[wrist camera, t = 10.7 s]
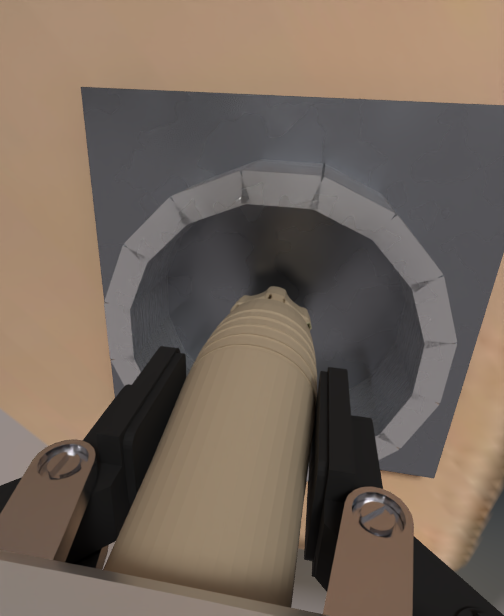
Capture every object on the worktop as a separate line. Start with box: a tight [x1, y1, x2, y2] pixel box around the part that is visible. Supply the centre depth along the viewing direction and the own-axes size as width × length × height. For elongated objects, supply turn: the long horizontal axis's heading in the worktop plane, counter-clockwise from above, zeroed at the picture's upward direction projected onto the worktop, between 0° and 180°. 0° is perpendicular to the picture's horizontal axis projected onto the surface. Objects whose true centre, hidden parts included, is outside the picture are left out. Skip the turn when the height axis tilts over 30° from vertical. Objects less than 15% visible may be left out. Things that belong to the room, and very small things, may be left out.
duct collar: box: [81, 87, 504, 481], centre depth 17 cm, size 17×17×5 cm
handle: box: [103, 286, 317, 608], centre depth 11 cm, size 5×6×15 cm
